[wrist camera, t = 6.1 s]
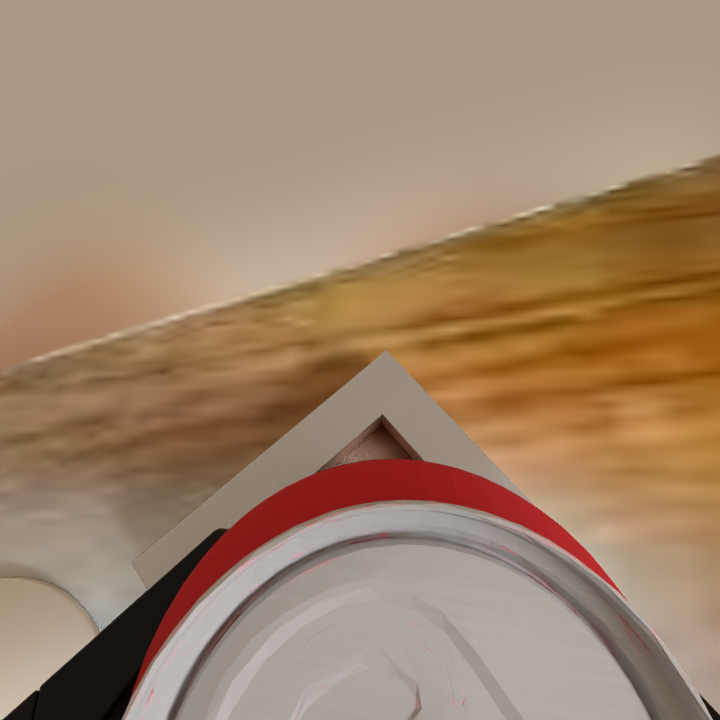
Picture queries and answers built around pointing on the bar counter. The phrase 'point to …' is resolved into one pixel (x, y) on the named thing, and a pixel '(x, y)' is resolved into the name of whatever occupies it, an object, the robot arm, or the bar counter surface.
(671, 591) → the bar counter surface
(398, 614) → the beverage can
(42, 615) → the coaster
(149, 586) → the square frame
